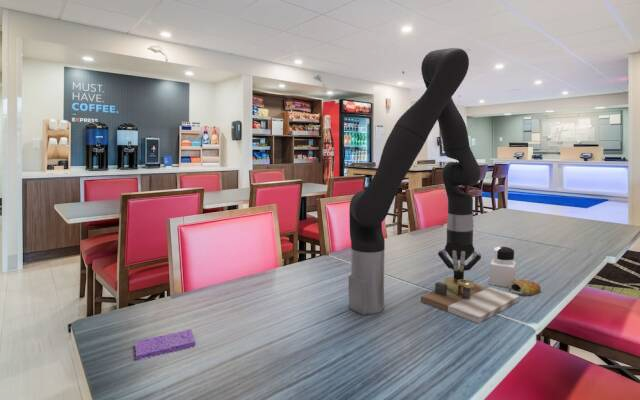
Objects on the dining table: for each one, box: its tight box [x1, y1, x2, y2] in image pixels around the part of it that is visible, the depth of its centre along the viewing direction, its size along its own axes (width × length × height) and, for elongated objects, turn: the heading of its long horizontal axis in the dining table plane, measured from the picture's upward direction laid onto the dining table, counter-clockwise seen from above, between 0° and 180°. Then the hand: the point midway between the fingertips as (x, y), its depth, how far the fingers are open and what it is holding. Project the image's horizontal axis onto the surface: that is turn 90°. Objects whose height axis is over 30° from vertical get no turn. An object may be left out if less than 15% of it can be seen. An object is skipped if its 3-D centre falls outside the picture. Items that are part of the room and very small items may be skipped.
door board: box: [420, 281, 520, 324], centre depth 108 cm, size 22×18×5 cm
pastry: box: [507, 279, 541, 297], centre depth 116 cm, size 9×7×4 cm
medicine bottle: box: [488, 246, 517, 288], centre depth 122 cm, size 7×7×12 cm
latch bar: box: [443, 276, 475, 295], centre depth 110 cm, size 11×4×4 cm, turn 14°
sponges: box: [134, 328, 196, 360], centre depth 86 cm, size 7×13×2 cm, turn 116°
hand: (458, 281), depth 116 cm, fingers closed
